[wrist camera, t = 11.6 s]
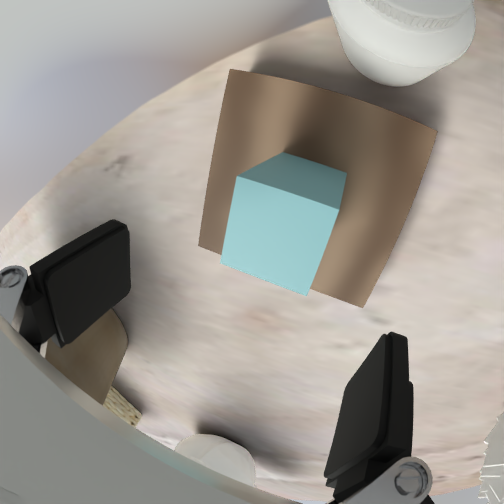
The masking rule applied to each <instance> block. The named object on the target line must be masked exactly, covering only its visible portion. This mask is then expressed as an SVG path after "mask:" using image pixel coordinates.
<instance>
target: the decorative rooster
mask: <svg viewBox="0 0 504 504" xmlns="http://www.w3.org/2000/svg"><path fill="white" fill-rule="evenodd" d="M174 451H175V452H177V453H179V454H181V455H183V456H185V457H187V458H189V459H191V460H193V461H195V462H197V463H199V464H201V465H203V466H205V467H207V468H209V469H211V470H214V471H216V472H218V473H220V474H223V475H225V476H227V477H230V478H232V479H234V480H237V481H239V482H242V483H244V484H247V485H249V486H252V487H254V488H257V486H256V485H255V480H256V471H255V463H254V460H253V458H252V456H251V454H250V453H249V452H248V451H247V450H246V449H245V448H243V447H242V446H240V445H238V444H236V443H234V442H232V441H230V440H228V439H225V438H223V437H220V436H216V435H208V434H196V435H192V436H190V437H187V438H185V439H183V440H182V441H180V442H179V443H178V444H177V446H176V447H175V449H174Z"/></svg>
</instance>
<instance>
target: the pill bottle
mask: <svg viewBox="0 0 504 504" xmlns="http://www.w3.org/2000/svg"><path fill="white" fill-rule="evenodd" d="M473 2H474V0H328V4H329V7H330V10H331V13H332V16H333V19H334V22H335V25H336V28H337V31H338V34H339V37H340V40H341V43H342V46H343V49H344V52H345V54H346V56H347V58H348V59H349V61H350V62H351V63H352V65H353V66H354V67H355V68H356V69H357V70H358V71H359V72H360V73H362V74H363V75H364V76H366V77H367V78H369V79H371V80H372V81H375V82H377V83H380V84H383V85H387V86H394V87H402V86H409V85H412V84H415V83H417V82H419V81H421V80H423V79H424V78H426V77H428V76H429V75H431V74H433V73H435V72H436V71H438V70H440V69H442V68H443V67H445V66H447V65H449V64H451V63H452V62H454V61H455V60H457V59H458V58H460V57H461V56H462V55H463V54H464V53H465V52H466V51H467V49H468V48H469V46H470V45H471V43H472V40H473V37H474V33H475V27H476V16H475V10H474V6H473Z"/></svg>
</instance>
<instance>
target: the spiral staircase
mask: <svg viewBox="0 0 504 504" xmlns="http://www.w3.org/2000/svg"><path fill="white" fill-rule="evenodd" d="M497 420H498V422H497V424H496V425H495V427H494V428H493V429H492V431H491V432H490V433H489V435H488V436H487V437H486V439H485V440H484V443H486V444H488V448H487V449H486V450H485V452H484V454H485V455H486V457H485V461H484V465H483V467H482V469H481V470H480V472H481V476H480V478H479V479H480V480H482V484H481V488H480V491H479V495H478V498H486V497H487V498H488V500H489V502H488V503H487V504H504V413H502V414H501V415H499V416H498V417H497Z"/></svg>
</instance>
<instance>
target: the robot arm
mask: <svg viewBox="0 0 504 504" xmlns="http://www.w3.org/2000/svg"><path fill="white" fill-rule="evenodd" d="M30 271H31V275H29V276H28V274H27V270H26V269H25V268H24V267H21V266H17V265H15V266H9V267H6V268H4V269H2V270H1V271H0V504H302V503H299V502H295V501H292V500H289V499H286V498H283V497H280V496H277V495H274V494H271V493H268V492H265V491H262V490H260V489H257V488H254V487H252V486H249V485H247V484H244V483H242V482H239V481H237V480H234V479H232V478H230V477H227V476H225V475H223V474H220V473H218V472H216V471H214V470H211V469H209V468H207V467H205V466H203V465H201V464H199V463H197V462H195V461H193V460H191V459H189V458H187V457H185V456H183V455H181V454H179V453H177V452H175V451H173V450H172V449H170V448H168V447H166V446H164V445H163V444H161V443H159V442H158V441H156V440H154V439H152V438H151V437H149V436H147V435H146V434H144V433H142V432H141V431H139V430H138V429H136V428H134V427H133V426H131V425H130V424H128V423H127V422H125V421H124V420H122V419H121V418H119V417H118V416H116V415H115V414H113V413H112V412H111V411H109V410H108V409H106V408H105V407H104V406H102V405H101V404H99V403H98V402H97V401H95V400H94V399H93V398H91V397H90V396H89V395H88V394H86V393H85V392H84V391H82V390H81V389H80V388H79V387H77V386H76V385H75V384H74V383H73V382H71V381H70V380H69V379H68V378H67V377H65V376H64V375H63V374H62V373H61V372H59V371H58V370H57V369H56V368H55V367H54V366H53V365H52V364H50V363H49V362H48V361H47V360H46V359H45V354H46V348H47V341H48V339H49V338H50V337H51V339H52V341H53V342H54V343H55V344H56V345H57V346H58V347H60V348H63V347H64V346H65V345H66V344H70V343H72V342H73V341H74V340H75V339H76V338H77V337H79V336H80V335H81V334H82V333H83V332H84V331H85V330H87V329H88V328H89V327H90V326H91V325H92V324H93V323H95V322H96V321H97V320H98V319H99V318H100V317H102V316H103V315H104V314H105V313H106V312H107V311H109V310H110V309H111V308H112V307H113V306H114V305H116V304H117V303H118V302H119V301H120V300H122V299H123V298H124V297H125V296H126V295H127V294H128V293H129V291H130V288H131V280H130V234H129V230H128V228H127V225H125V224H124V223H121V222H119V221H117V220H114V219H112V220H110V221H108V222H106V223H104V224H102V225H100V226H98V227H97V228H95V229H93V230H91V231H89V232H87V233H86V234H84V235H82V236H80V237H78V238H77V239H75V240H73V241H71V242H70V243H68V244H66V245H64V246H63V247H61V248H59V249H58V250H56V251H54V252H53V253H51V254H49V255H48V256H46V257H44V258H43V259H41V260H39V261H38V262H36V263H34V264H33V265H31V266H30ZM412 436H413V384H412V382H410V381H409V361H408V340H407V337H405V336H402V335H400V334H397V333H394V332H390V333H389V334H388V335H386V334H383V335H382V336H381V337H380V339H379V340H378V342H377V343H376V345H375V346H374V348H373V349H372V351H371V352H370V353H369V355H368V356H367V358H366V359H365V361H364V362H363V363H362V365H361V366H360V367H359V369H358V370H357V372H356V373H355V374H354V376H353V377H352V378H351V380H350V381H349V382H348V384H347V386H346V388H345V391H344V395H343V400H342V404H341V409H340V413H339V418H338V422H337V426H336V430H335V434H334V438H333V442H332V446H331V450H330V454H329V457H328V461H327V464H326V468H325V471H324V477H325V478H328V479H327V482H326V486H328V487H332V488H335V490H334V493H333V497H334V498H333V499H332V500H330V501H329V502H327V503H326V504H434V502H433V501H432V500H431V498H430V497H429V495H428V493H429V492H430V490H431V487H432V474H431V470H430V468H429V467H428V465H427V464H426V463H425V462H424V461H423V460H421V459H419V458H416V457H411V452H412Z"/></svg>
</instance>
